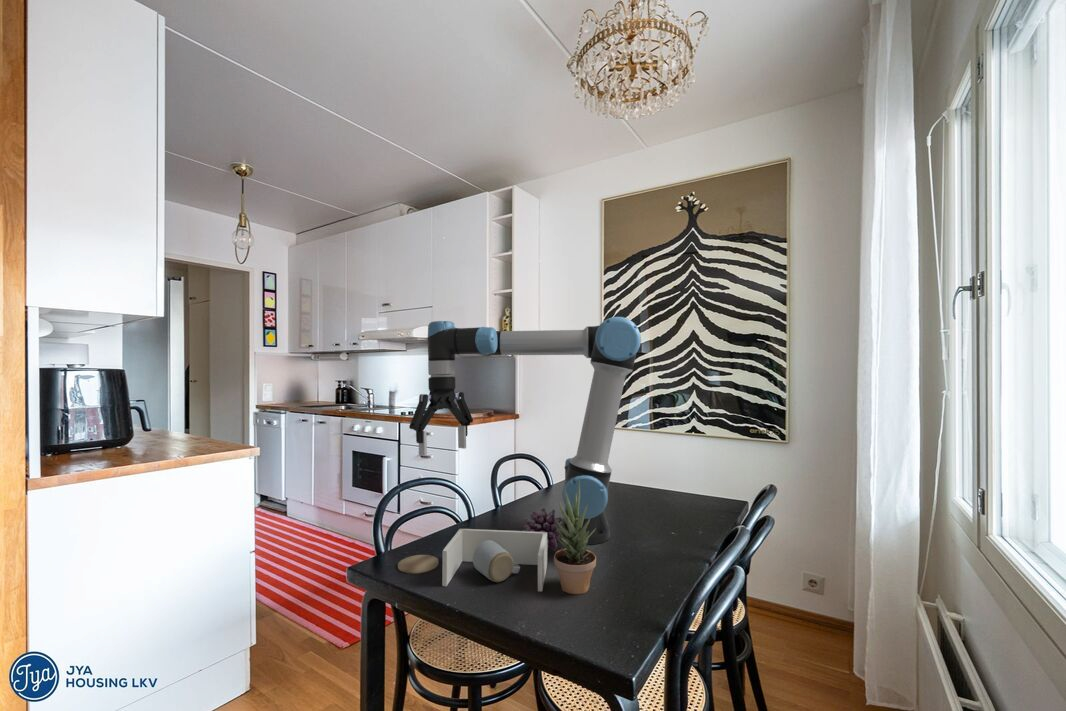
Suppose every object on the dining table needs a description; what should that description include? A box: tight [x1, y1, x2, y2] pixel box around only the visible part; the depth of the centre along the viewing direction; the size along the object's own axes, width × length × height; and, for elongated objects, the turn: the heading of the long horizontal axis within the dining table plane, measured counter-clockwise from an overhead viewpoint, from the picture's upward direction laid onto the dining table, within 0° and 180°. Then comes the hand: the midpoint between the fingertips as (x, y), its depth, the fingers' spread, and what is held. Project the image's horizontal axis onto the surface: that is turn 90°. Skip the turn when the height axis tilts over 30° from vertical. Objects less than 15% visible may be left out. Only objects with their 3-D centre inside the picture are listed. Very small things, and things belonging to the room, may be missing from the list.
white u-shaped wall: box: [441, 528, 548, 592], centre depth 113 cm, size 23×15×8 cm, turn 84°
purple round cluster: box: [521, 507, 563, 552], centre depth 127 cm, size 12×12×12 cm
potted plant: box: [553, 480, 597, 595], centre depth 106 cm, size 10×10×25 cm
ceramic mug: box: [472, 540, 521, 583], centre depth 113 cm, size 11×8×8 cm
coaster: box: [397, 554, 439, 575], centre depth 118 cm, size 10×10×1 cm
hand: (443, 451), depth 131 cm, fingers open, 13 cm apart
